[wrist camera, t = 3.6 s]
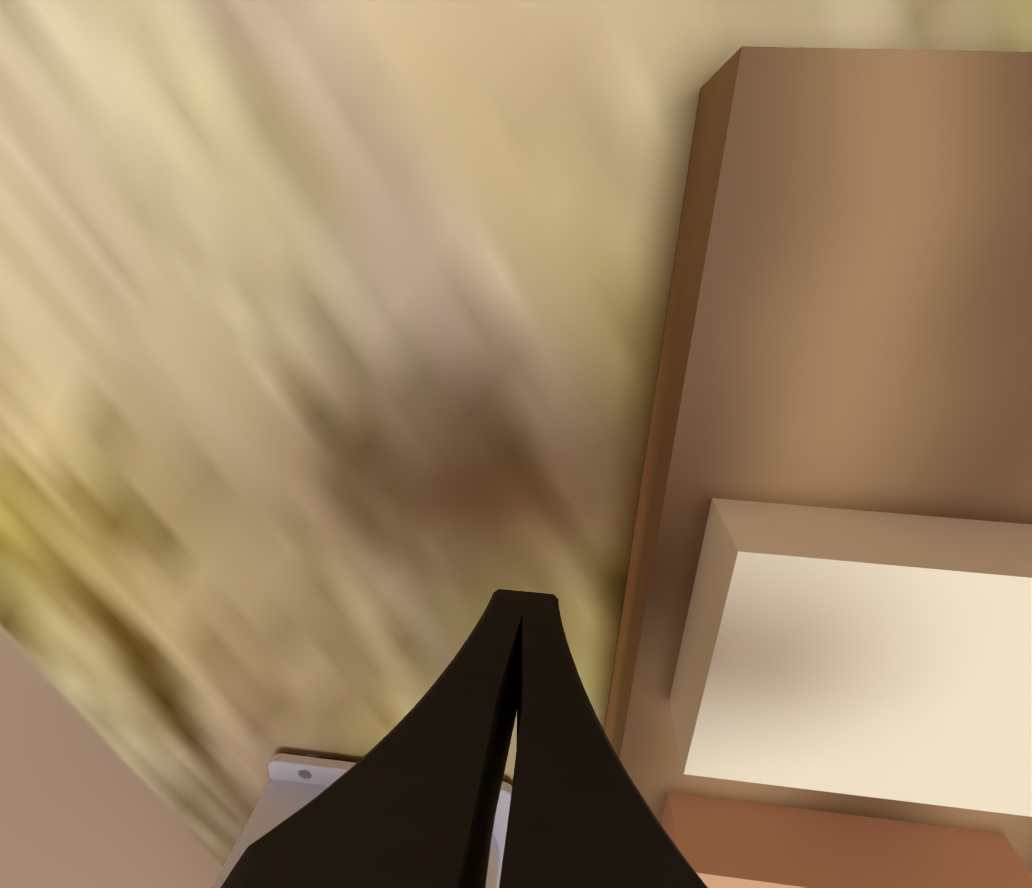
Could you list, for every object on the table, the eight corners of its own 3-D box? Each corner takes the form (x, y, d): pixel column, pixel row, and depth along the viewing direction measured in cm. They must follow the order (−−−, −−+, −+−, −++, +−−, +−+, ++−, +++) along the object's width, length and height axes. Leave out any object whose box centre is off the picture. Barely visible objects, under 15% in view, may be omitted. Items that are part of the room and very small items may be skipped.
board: (590, 821, 21) (592, 913, 18) (700, 88, 11) (742, 46, 8) (916, 863, 20) (971, 968, 17) (1340, 104, 10) (1620, 63, 7)
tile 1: (669, 700, 14) (683, 774, 12) (711, 498, 11) (738, 551, 10) (1039, 742, 13) (1114, 826, 11) (1167, 535, 11) (1287, 600, 9)
